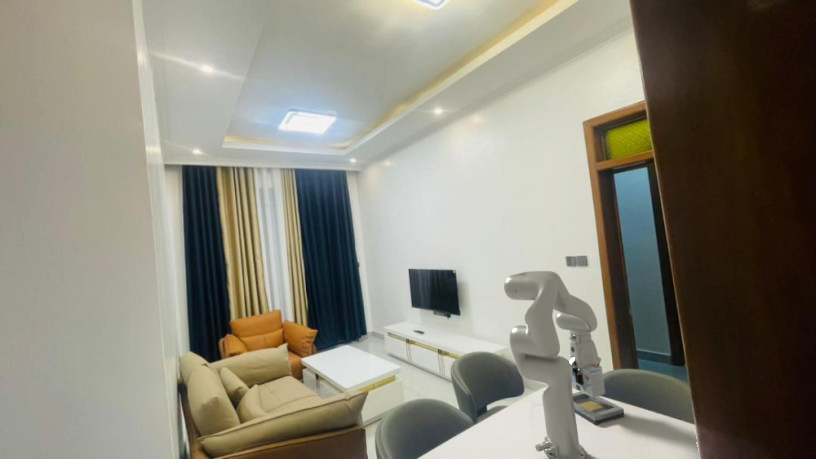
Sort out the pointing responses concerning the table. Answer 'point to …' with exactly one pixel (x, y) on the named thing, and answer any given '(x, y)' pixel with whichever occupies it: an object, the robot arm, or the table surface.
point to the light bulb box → (590, 381)
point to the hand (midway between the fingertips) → (587, 381)
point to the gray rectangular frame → (596, 408)
